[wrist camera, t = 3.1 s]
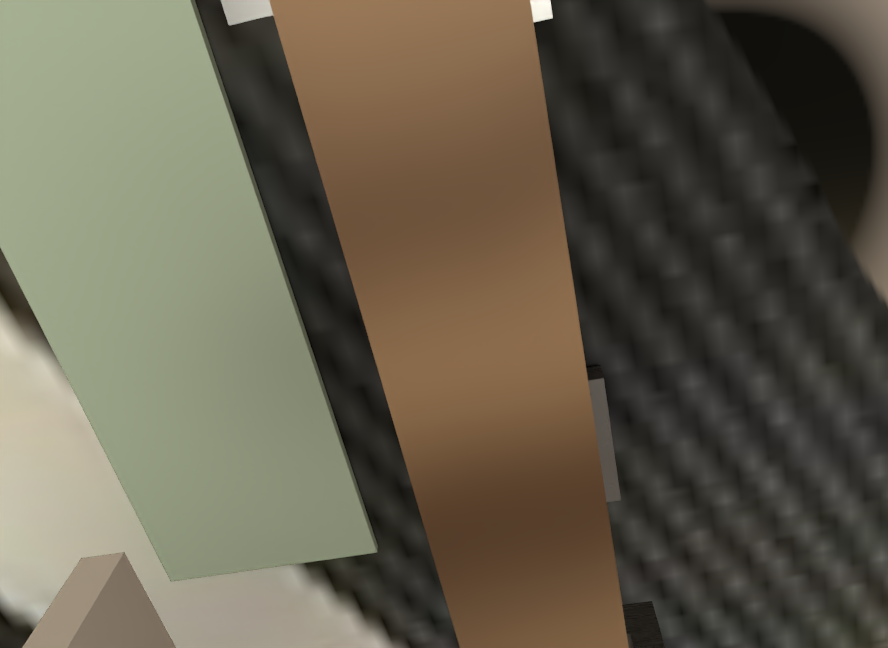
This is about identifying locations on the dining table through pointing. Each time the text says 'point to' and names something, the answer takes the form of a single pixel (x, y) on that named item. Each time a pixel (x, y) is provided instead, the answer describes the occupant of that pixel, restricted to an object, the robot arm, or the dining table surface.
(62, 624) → the robot arm
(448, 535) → the walnut bar
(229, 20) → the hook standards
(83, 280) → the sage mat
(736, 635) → the dining table surface
